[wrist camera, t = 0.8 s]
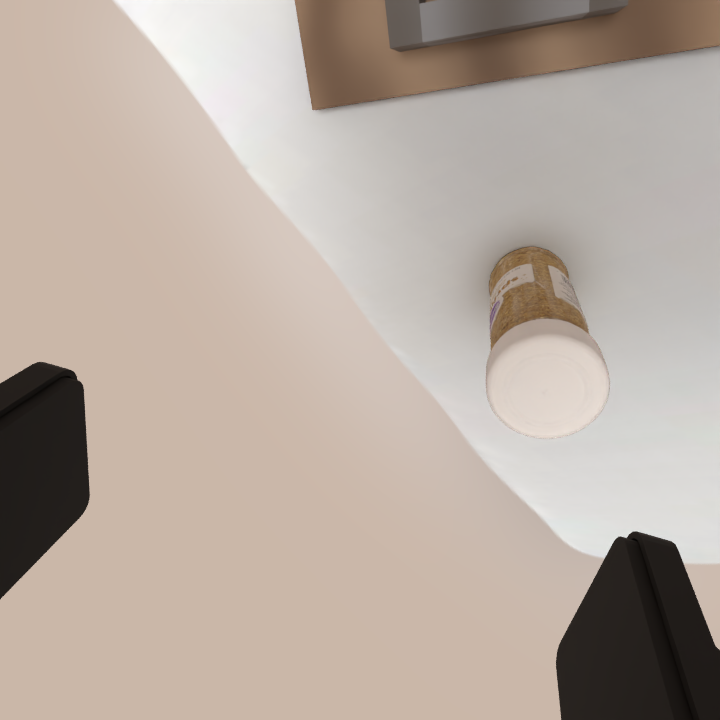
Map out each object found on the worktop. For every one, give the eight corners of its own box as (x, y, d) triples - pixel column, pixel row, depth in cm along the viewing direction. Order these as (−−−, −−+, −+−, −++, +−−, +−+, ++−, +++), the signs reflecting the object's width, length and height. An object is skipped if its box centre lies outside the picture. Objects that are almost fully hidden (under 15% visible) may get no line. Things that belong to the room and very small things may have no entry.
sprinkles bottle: (487, 249, 33) (482, 339, 21) (570, 242, 32) (615, 333, 20) (490, 322, 35) (488, 443, 23) (569, 318, 34) (610, 443, 22)
